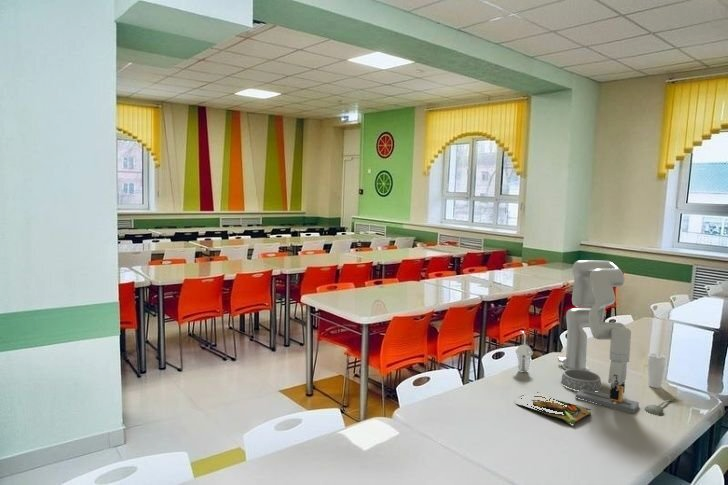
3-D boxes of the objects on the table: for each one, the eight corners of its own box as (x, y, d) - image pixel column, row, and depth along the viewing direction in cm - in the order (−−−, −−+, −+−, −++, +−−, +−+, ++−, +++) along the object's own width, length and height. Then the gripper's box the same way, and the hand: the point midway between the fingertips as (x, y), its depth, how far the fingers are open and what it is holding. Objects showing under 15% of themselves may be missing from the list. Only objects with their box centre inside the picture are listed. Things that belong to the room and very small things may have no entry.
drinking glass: (665, 389, 230) (667, 358, 229) (649, 388, 231) (651, 357, 230) (659, 384, 237) (662, 353, 235) (644, 383, 238) (646, 352, 237)
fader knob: (610, 399, 213) (611, 386, 212) (612, 397, 215) (613, 384, 214) (621, 402, 210) (621, 388, 209) (622, 400, 212) (623, 386, 212)
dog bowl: (601, 382, 240) (601, 371, 239) (600, 395, 223) (601, 384, 223) (562, 376, 247) (563, 365, 247) (560, 389, 231) (560, 377, 230)
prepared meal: (511, 395, 213) (535, 385, 224) (510, 403, 214) (535, 393, 224) (572, 422, 191) (596, 409, 202) (571, 430, 192) (595, 417, 202)
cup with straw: (513, 373, 250) (515, 334, 248) (515, 367, 258) (517, 329, 256) (531, 375, 247) (533, 336, 245) (532, 369, 255) (534, 331, 253)
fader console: (575, 398, 219) (575, 393, 219) (582, 392, 226) (582, 387, 226) (633, 413, 204) (633, 408, 204) (638, 406, 211) (638, 401, 211)
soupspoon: (641, 413, 207) (658, 420, 202) (642, 406, 207) (659, 412, 202) (663, 399, 221) (680, 404, 215) (664, 391, 220) (680, 397, 215)
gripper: (615, 349, 220) (613, 387, 221) (604, 359, 206) (601, 399, 208) (634, 353, 215) (631, 391, 216) (624, 363, 202) (621, 404, 203)
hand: (617, 395), depth 212 cm, fingers open, 9 cm apart
